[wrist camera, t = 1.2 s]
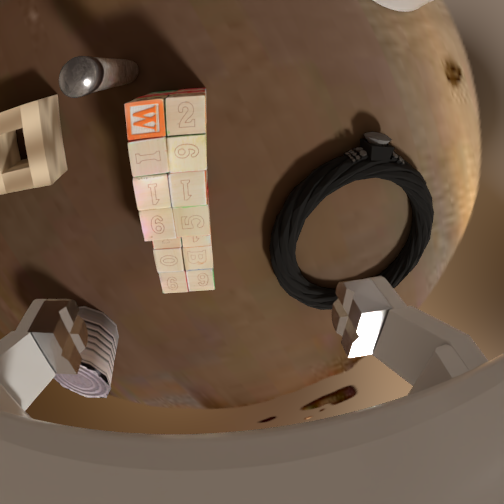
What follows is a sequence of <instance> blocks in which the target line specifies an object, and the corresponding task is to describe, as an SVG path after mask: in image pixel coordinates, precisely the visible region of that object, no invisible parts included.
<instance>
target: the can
mask: <svg viewBox="0 0 504 504" xmlns="http://www.w3.org/2000/svg"><path fill="white" fill-rule="evenodd" d="M78 315H79V316H80V317H81V318H82V319H83V320H84V321H85V324H86V326H87V330H88V342H87V346H86V348H85V349H84V350H83V351H82V352H81V353H80V355H81V357H82V361H81V364H80V367H79V371H78V374H77V375H72V374H56V373H55V374H56V375H55V377H54V379H55V380H56V381H57V382H58V383H59V384H61V385H62V386H63V387H65V388H67V389H69V390H71V391H73V392H76V393H78V394H80V395H83V396H85V397H96V398H106V397H107V395H108V393H109V391H110V389H111V387H110V386H111V379H112V372H113V366H114V360H115V354H116V349H117V343H118V338H119V336H118V331H117V326H116V324H115V323H114V322H113V321H112V320H111V319H110V318H109V317H108V316H107V315H105V314H104V313H103V312H101V311H98V310H95V309H92V308H89V307H86V306H81V307H79V312H78Z"/></svg>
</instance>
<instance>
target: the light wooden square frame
mask: <svg viewBox="0 0 504 504" xmlns="http://www.w3.org/2000/svg"><path fill="white" fill-rule="evenodd" d="M20 128H23V133H24V139H25V146H26V151H27V157H28V159H23V160H21V159H20V154H19V148H18V143H17V136H16V130H17V129H20ZM67 170H68V169H67V164H66V158H65V152H64V146H63V139H62V132H61V124H60V115H59V105H58V94H57V95H53V96H50V97H46V98H43V99H39V100H36V101H33V102H30V103H26V104H23V105H20V106H17V107H15V108H12V109H9V110H6V111H4V112H1V113H0V195H1V194H6V193H10V192H15V191H20V190H26V189H31V188H36V187H42V186H48V185H52V184H53V183H54V182H55V181H56V180H57V179H58V178H59V177H60V176H61V175H62V174H63V173H65V172H66V171H67Z"/></svg>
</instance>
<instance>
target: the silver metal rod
mask: <svg viewBox="0 0 504 504" xmlns="http://www.w3.org/2000/svg"><path fill="white" fill-rule="evenodd" d="M137 75H138V66H137V64H136V63H135V62H133V61H131V60H125V59H113V58H97V57H89V56H78V57H75V58H72V59H71V60H69V61H68V62H67V63H66V64H65V65H64V66H63V68H62V70H61V72H60V75H59V86H60V89H61V91H62V92H63V93H64V94H65V95H66V96H68V97H72V98H77V97H81V96H85V95H88V94H91V93H93V92H97V91H101V90H105V89H109V88H113V87H117V86H121V85H126V84H129V83H131V82H133V81H134V80H135V79H136V77H137Z"/></svg>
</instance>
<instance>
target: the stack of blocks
mask: <svg viewBox="0 0 504 504" xmlns="http://www.w3.org/2000/svg"><path fill="white" fill-rule="evenodd" d="M124 106H125V118H126V128H127V137H128V140H129V141H128V152H129V158H130V165H131V171H132V176H133V179H132V182H133V188H134V193H135V199H136V204H137V208H138V210H139V217H140V222H141V227H142V231H143V236H144V240H145V241H152V243H153V253H154V258H155V263H156V268H157V272H158V273H159V277H160V282H161V286H162V291H163V293H176V292H188V291H202V290H214V289H215V283H214V272H213V256H212V242H211V228H210V211H209V196H208V177H207V137H206V88H191V89H180V90H171V91H160V92H152V93H149V94H147V95H144V96H140V97H138V98H135V99H134V100H132V101H130V102H127V103H125V104H124Z"/></svg>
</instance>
